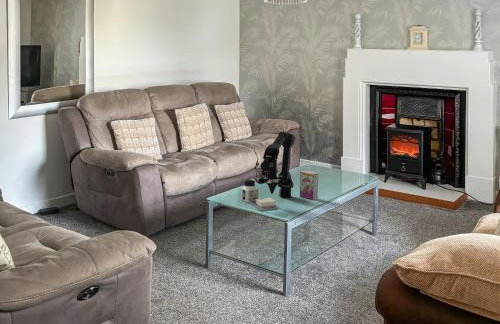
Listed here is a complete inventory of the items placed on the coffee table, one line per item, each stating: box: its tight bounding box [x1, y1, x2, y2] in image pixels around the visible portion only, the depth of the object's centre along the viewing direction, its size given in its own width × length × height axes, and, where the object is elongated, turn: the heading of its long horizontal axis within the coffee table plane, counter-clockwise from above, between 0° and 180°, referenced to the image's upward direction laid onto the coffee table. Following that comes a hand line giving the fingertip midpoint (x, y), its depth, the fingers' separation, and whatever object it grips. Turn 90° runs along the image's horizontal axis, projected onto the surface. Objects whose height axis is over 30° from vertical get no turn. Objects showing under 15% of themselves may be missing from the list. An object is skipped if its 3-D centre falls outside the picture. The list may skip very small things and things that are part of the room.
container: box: [240, 178, 259, 203], centre depth 360 cm, size 8×8×13 cm
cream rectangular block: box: [255, 197, 276, 207], centre depth 349 cm, size 3×8×9 cm
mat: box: [248, 201, 278, 212], centre depth 348 cm, size 10×18×1 cm, turn 21°
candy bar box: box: [299, 170, 319, 201], centre depth 365 cm, size 11×5×16 cm, turn 43°
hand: (271, 193), depth 349 cm, fingers closed
